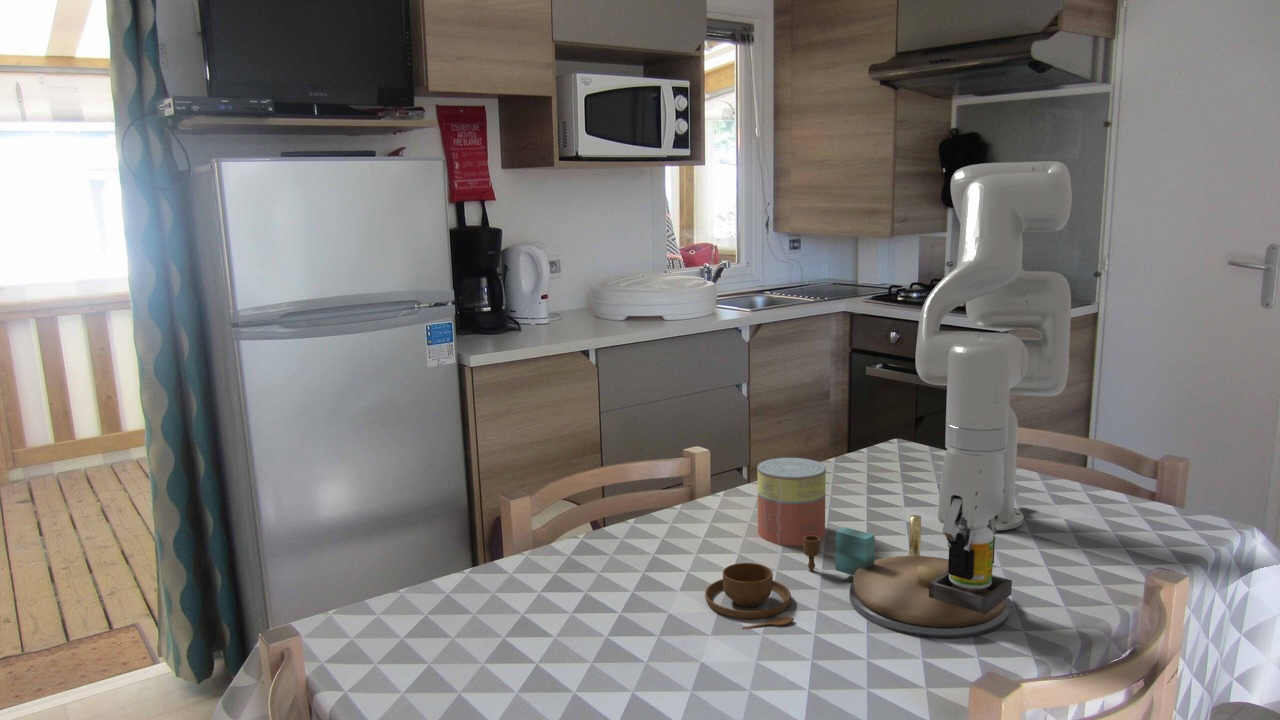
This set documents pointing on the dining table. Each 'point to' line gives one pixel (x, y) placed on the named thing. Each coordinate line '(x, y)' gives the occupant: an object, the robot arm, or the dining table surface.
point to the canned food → (791, 500)
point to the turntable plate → (915, 586)
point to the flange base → (920, 629)
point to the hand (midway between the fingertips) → (971, 568)
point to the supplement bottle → (978, 558)
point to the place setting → (756, 588)
